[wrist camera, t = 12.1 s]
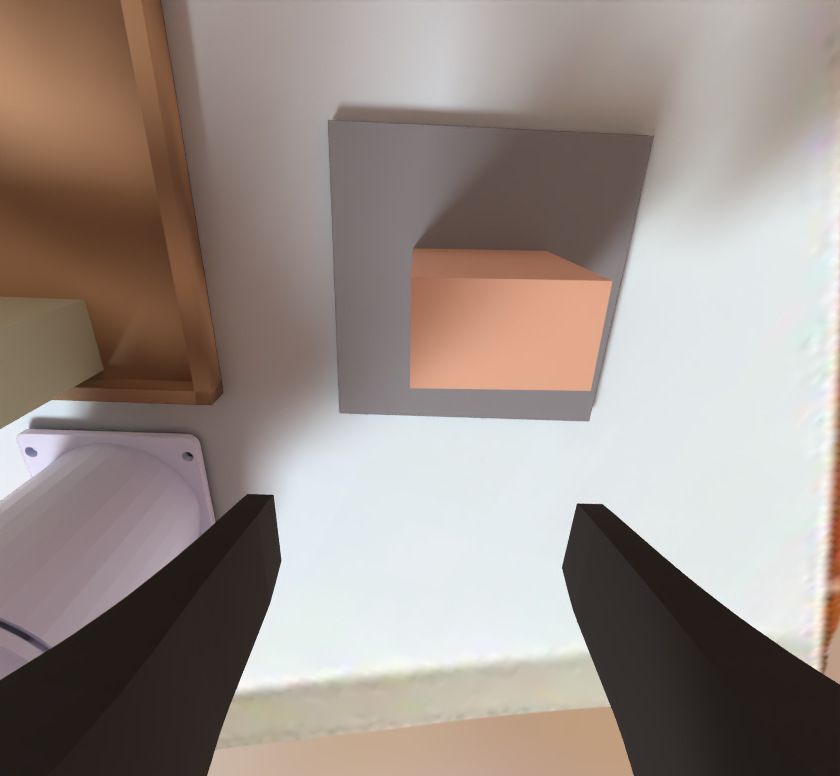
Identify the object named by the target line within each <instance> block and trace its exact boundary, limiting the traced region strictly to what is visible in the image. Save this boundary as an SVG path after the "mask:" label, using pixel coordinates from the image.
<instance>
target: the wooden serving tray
mask: <svg viewBox="0 0 840 776" xmlns="http://www.w3.org/2000/svg"><path fill="white" fill-rule="evenodd" d="M0 296H1V297H27V298H53V299H79V300H85V303H86V307H87V310H88V314H89V318H90V321H91V325H92V328H93V332H94V336H95V339H96V343H97V346H98V350H99V354H100V357H101V361H102V365H103V368H104V370H103V371H101V372H99V373H98V374H96V375H94V376H92V377H90V378H89V379H87V380H85V381H83V382H82V383H80V384H78V385H76V386H75V387H73V388H71V389H69V390H68V391H66V392H64V393H62V394H61V395H59V396H57V397H55V398H54V399H52V400H72V401H102V402H132V403H162V404H193V405H212V404H213V403H214V402H215V401H216V400H217V399H218V398H219V397H220V396H221V395H222V394H223V389H222V382H221V376H220V370H219V364H218V357H217V351H216V345H215V339H214V332H213V326H212V320H211V313H210V307H209V301H208V295H207V288H206V282H205V276H204V270H203V263H202V257H201V251H200V244H199V238H198V232H197V226H196V219H195V213H194V207H193V201H192V194H191V188H190V182H189V176H188V169H187V163H186V157H185V150H184V144H183V138H182V132H181V125H180V119H179V113H178V107H177V100H176V94H175V88H174V81H173V75H172V69H171V63H170V56H169V50H168V44H167V38H166V31H165V25H164V19H163V12H162V6H161V0H0Z"/></svg>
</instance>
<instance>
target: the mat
mask: <svg viewBox="0 0 840 776" xmlns="http://www.w3.org/2000/svg"><path fill="white" fill-rule="evenodd" d="M328 133H329V158H330V183H331V209H332V234H333V260H334V285H335V310H336V336H337V361H338V386H339V412H340V413H349V414H379V415H410V416H440V417H471V418H501V419H532V420H562V421H589V420H590V415H591V411H592V406H593V402H594V398H595V393H596V389H597V384H598V380H599V376H600V371H601V367H602V362H603V358H604V354H605V349H606V345H607V340H608V336H609V332H610V327H611V323H612V318H613V314H614V310H615V305H616V301H617V296H618V292H619V288H620V283H621V279H622V274H623V270H624V266H625V261H626V257H627V252H628V248H629V244H630V239H631V235H632V230H633V226H634V222H635V217H636V213H637V208H638V204H639V200H640V195H641V191H642V186H643V182H644V178H645V173H646V169H647V164H648V160H649V156H650V151H651V147H652V142H653V138H654V136H649V135H628V134H607V133H586V132H566V131H545V130H524V129H504V128H483V127H462V126H441V125H421V124H400V123H379V122H359V121H338V120H328ZM413 248H422V249H474V250H525V251H548V252H550V253H552V254H555V255H557V256H559V257H561V258H563V259H566V260H568V261H570V262H572V263H574V264H576V265H579V266H581V267H583V268H585V269H587V270H590V271H592V272H594V273H596V274H598V275H601V276H603V277H605V278H607V279H609V280H611V281H612V286H611V291H610V296H609V301H608V306H607V311H606V317H605V322H604V327H603V332H602V337H601V342H600V347H599V352H598V357H597V362H596V367H595V372H594V377H593V382H592V387H591V391H566V390H498V389H431V388H410V326H411V270H412V255H413Z"/></svg>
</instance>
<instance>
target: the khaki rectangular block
mask: <svg viewBox="0 0 840 776" xmlns="http://www.w3.org/2000/svg"><path fill="white" fill-rule="evenodd" d="M103 370H104V368H103V365H102V361H101V357H100V354H99V350H98V346H97V343H96V339H95V336H94V332H93V328H92V325H91V321H90V318H89V314H88V310H87V307H86V303H85V300H79V299H53V298H27V297H1V296H0V429H1V428H3V427H5V426H6V425H8V424H10V423H12V422H13V421H15V420H17V419H19V418H20V417H22V416H24V415H26V414H27V413H29V412H31V411H33V410H34V409H36V408H38V407H40V406H41V405H43V404H45V403H47V402H48V401H50V400H52V399H54V398H55V397H57V396H59V395H61V394H62V393H64V392H66V391H68V390H69V389H71V388H73V387H75V386H76V385H78V384H80V383H82V382H83V381H85V380H87V379H89V378H90V377H92V376H94V375H96V374H98V373H99V372H101V371H103Z"/></svg>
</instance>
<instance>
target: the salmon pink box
mask: <svg viewBox="0 0 840 776" xmlns="http://www.w3.org/2000/svg"><path fill="white" fill-rule="evenodd" d="M611 286H612V281H611V280H609V279H607V278H605V277H603V276H601V275H598V274H596V273H594V272H592V271H590V270H587V269H585V268H583V267H581V266H579V265H576V264H574V263H572V262H570V261H568V260H566V259H563V258H561V257H559V256H557V255H555V254H552V253H550V252H548V251H525V250H474V249H422V248H413V255H412V270H411V326H410V388H431V389H498V390H566V391H591V387H592V382H593V377H594V372H595V367H596V362H597V357H598V352H599V347H600V342H601V337H602V332H603V327H604V322H605V317H606V311H607V306H608V301H609V296H610V291H611Z"/></svg>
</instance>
